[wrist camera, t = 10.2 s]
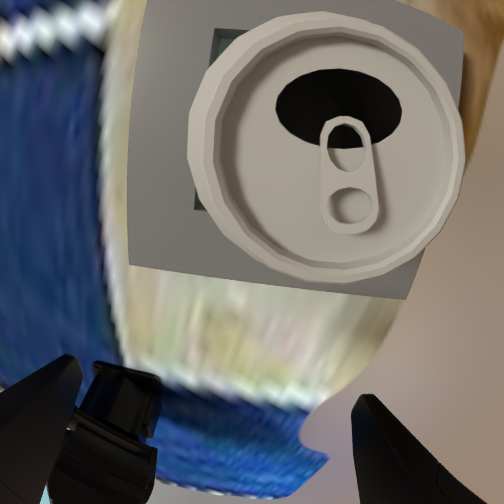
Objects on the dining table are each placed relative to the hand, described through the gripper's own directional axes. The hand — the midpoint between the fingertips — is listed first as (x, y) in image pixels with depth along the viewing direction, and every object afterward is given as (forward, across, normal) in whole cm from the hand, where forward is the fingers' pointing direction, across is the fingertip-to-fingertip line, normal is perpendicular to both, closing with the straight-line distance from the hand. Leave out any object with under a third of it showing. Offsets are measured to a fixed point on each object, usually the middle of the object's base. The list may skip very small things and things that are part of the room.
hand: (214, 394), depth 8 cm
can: (+12, -2, -7) cm, 14 cm away
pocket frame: (+12, -2, -7) cm, 15 cm away
